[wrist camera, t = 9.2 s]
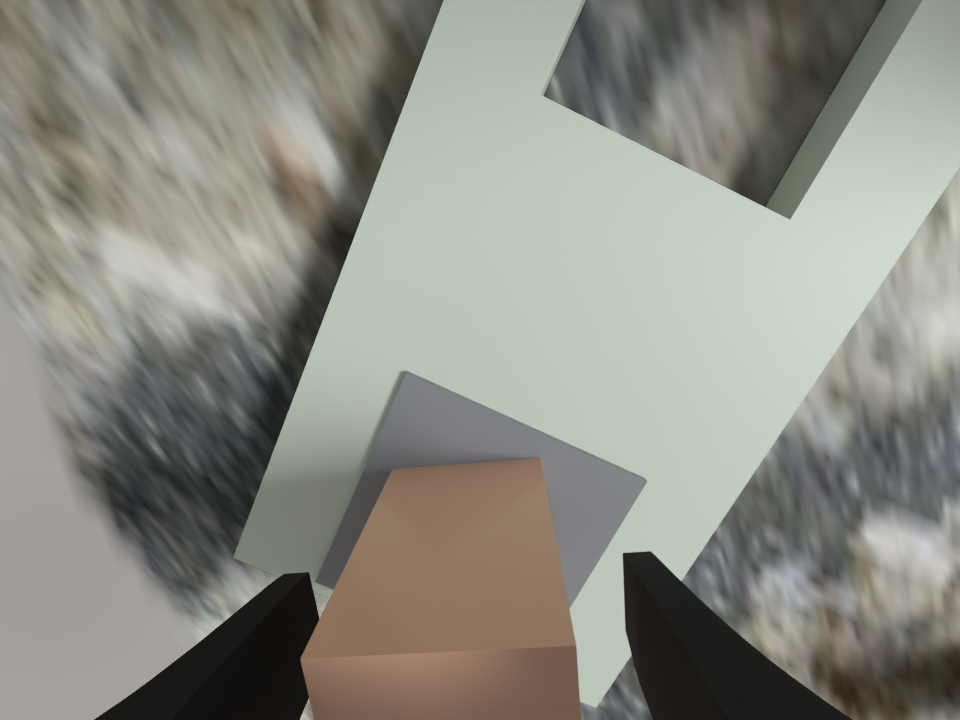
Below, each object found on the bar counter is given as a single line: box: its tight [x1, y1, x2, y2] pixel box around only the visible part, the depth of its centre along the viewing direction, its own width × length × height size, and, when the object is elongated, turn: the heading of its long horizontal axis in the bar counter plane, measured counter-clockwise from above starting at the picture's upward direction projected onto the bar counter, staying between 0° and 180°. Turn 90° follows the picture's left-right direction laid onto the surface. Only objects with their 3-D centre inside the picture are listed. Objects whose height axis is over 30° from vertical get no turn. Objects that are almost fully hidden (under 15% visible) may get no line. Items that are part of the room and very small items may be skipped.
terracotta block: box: [300, 458, 581, 720], centre depth 10 cm, size 4×4×6 cm
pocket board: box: [233, 0, 960, 708], centre depth 12 cm, size 12×22×2 cm, turn 155°
